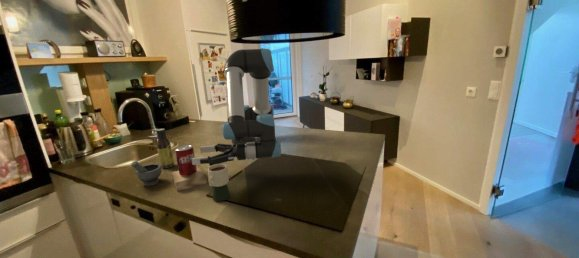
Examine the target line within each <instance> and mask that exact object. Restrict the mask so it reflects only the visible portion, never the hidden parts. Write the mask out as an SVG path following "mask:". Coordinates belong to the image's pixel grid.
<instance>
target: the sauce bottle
mask: <svg viewBox="0 0 579 258" xmlns="http://www.w3.org/2000/svg"><path fill="white" fill-rule="evenodd" d="M155 133H156V136H157V141H156V149H157V154H158V159H159V163H160V164H159V165H160V166H161V169H169V168H172V167H174V165H175V160H174V155H173V150H172V146H171V142H170V140H169V139H168V138H167V134H166V129H165V128H157V129H156V130H155Z"/></svg>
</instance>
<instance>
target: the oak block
mask: <svg viewBox="0 0 579 258" xmlns="http://www.w3.org/2000/svg"><path fill="white" fill-rule="evenodd" d="M196 167H197V172H196V173H195V174H194V175H191V176H187V177H183V176H181V175H180V174H179V170H177V171H176V170H175V171H172V172H171V176H172V182H173V185H174V186H175V189H176V191H177V192H180V191H183V190H187V189H191V188H194V187H198V186H201V185H204V184H207V183H208V182H207V181H208V179H207V174H206V173H205V171H204V170H203V168H202V167H201V166H200V165H196Z"/></svg>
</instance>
